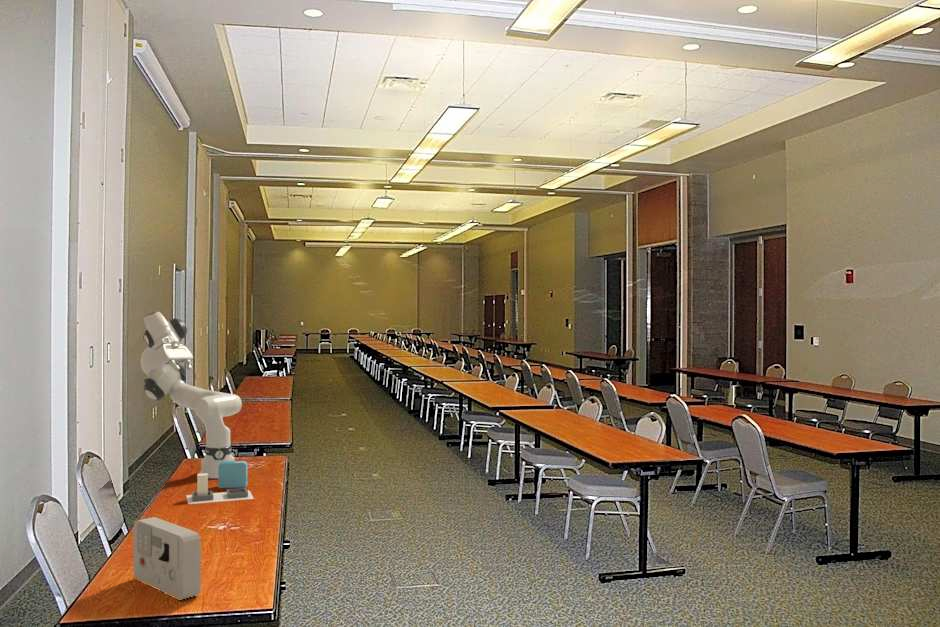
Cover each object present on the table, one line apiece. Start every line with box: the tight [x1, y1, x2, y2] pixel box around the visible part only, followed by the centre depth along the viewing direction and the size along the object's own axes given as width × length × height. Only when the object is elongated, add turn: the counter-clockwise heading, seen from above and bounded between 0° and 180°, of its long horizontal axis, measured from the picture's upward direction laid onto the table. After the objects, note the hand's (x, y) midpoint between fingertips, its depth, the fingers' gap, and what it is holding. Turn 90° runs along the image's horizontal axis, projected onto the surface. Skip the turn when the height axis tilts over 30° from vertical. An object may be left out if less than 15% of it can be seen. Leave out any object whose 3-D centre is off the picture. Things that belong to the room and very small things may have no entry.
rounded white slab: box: [132, 516, 202, 601], centre depth 222 cm, size 29×8×18 cm, turn 50°
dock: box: [186, 487, 255, 505], centre depth 326 cm, size 16×26×3 cm, turn 113°
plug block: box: [196, 473, 209, 496], centre depth 323 cm, size 4×4×10 cm
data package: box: [217, 460, 249, 489], centre depth 345 cm, size 12×4×12 cm, turn 98°
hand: (184, 369), depth 338 cm, fingers open, 8 cm apart
